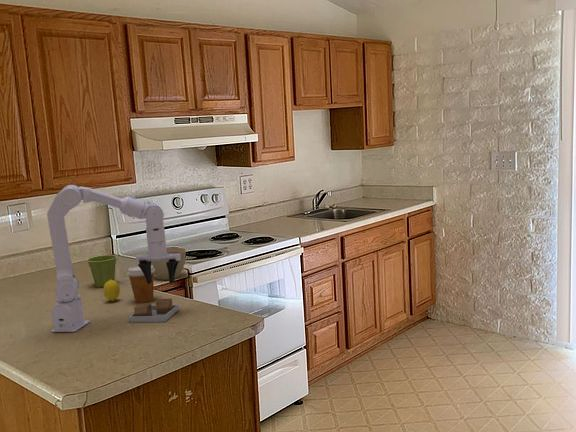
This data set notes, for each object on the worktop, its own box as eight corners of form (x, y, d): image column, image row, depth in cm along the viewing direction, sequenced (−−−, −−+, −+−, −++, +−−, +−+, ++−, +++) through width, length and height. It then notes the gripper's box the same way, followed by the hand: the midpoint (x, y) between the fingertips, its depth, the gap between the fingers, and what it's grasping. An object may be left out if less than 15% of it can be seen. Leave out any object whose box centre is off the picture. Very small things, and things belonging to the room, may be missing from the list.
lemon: (116, 303, 202) (113, 281, 201) (101, 303, 203) (99, 281, 202) (123, 298, 207) (121, 277, 206) (109, 299, 209) (107, 277, 208)
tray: (165, 322, 177) (164, 316, 176) (129, 322, 179) (128, 317, 179) (179, 310, 188) (178, 304, 188) (144, 310, 191) (144, 305, 190)
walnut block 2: (168, 314, 183) (167, 302, 183) (156, 314, 184) (155, 302, 184) (173, 310, 187) (171, 298, 187) (161, 310, 188) (160, 298, 187)
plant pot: (83, 289, 227) (79, 261, 225) (101, 281, 238) (98, 254, 236) (108, 289, 223) (105, 261, 221) (126, 281, 234) (123, 254, 233)
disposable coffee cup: (163, 297, 206) (159, 264, 205) (148, 304, 197) (145, 270, 196) (140, 296, 209) (136, 264, 208) (125, 304, 200) (121, 270, 199)
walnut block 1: (147, 319, 179) (146, 307, 179) (135, 319, 180) (134, 307, 180) (152, 315, 183) (151, 303, 183) (140, 315, 184) (139, 303, 183)
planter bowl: (140, 279, 236) (138, 253, 235) (174, 271, 247) (171, 246, 246) (162, 284, 225) (159, 257, 223) (196, 275, 236) (193, 249, 234)
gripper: (182, 238, 187) (186, 278, 189) (140, 240, 189) (144, 280, 191) (174, 242, 180) (178, 284, 182) (131, 244, 182) (135, 285, 184)
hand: (160, 282), depth 186 cm, fingers open, 7 cm apart
